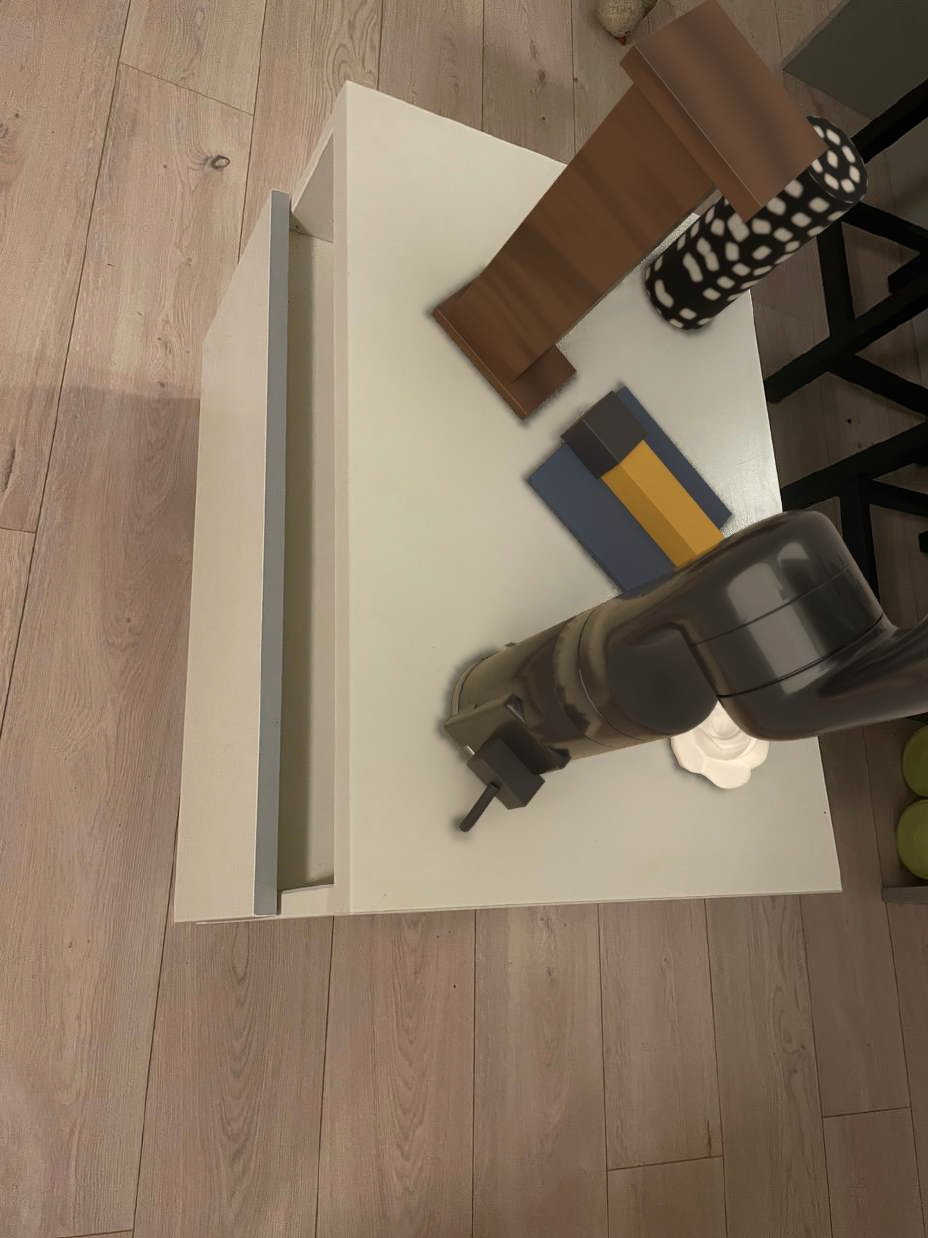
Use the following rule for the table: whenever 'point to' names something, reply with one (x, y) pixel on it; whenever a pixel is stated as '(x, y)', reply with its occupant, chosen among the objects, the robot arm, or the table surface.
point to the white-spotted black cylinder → (754, 236)
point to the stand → (631, 196)
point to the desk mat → (619, 505)
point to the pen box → (640, 479)
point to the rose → (720, 750)
